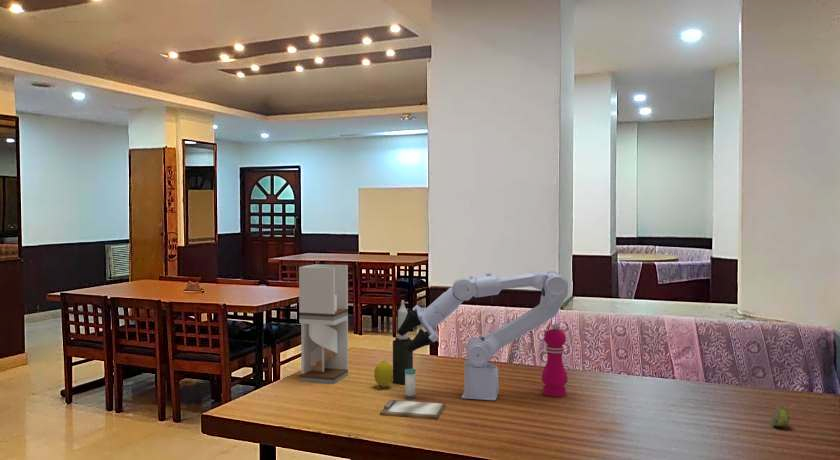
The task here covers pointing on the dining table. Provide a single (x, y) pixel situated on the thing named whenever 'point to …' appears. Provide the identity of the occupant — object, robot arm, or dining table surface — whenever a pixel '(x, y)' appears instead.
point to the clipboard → (413, 409)
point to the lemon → (383, 374)
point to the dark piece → (401, 351)
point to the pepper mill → (554, 363)
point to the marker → (410, 383)
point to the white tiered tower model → (323, 322)
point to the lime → (780, 417)
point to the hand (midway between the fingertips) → (403, 342)
